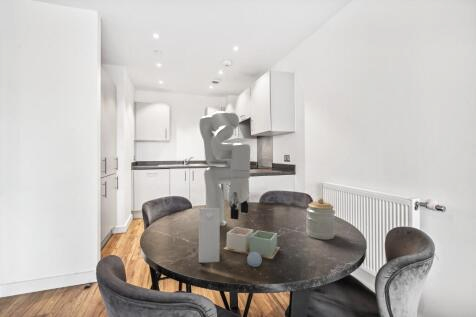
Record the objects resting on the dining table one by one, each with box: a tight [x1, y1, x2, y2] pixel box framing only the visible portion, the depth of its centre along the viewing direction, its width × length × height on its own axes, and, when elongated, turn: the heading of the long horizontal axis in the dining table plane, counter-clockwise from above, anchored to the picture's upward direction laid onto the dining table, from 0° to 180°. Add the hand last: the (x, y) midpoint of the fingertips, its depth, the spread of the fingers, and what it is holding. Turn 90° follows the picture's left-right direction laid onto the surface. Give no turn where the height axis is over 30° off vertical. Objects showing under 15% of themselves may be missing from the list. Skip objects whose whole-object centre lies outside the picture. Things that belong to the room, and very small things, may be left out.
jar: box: [305, 198, 336, 241], centre depth 108 cm, size 13×13×18 cm
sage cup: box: [250, 230, 278, 257], centre depth 88 cm, size 8×8×6 cm
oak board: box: [222, 245, 281, 260], centre depth 90 cm, size 20×11×1 cm, turn 65°
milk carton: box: [198, 207, 221, 266], centre depth 81 cm, size 7×7×19 cm
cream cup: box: [226, 226, 254, 252], centre depth 92 cm, size 8×8×6 cm
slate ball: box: [246, 252, 263, 268], centre depth 77 cm, size 5×5×5 cm
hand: (239, 215), depth 92 cm, fingers open, 9 cm apart
